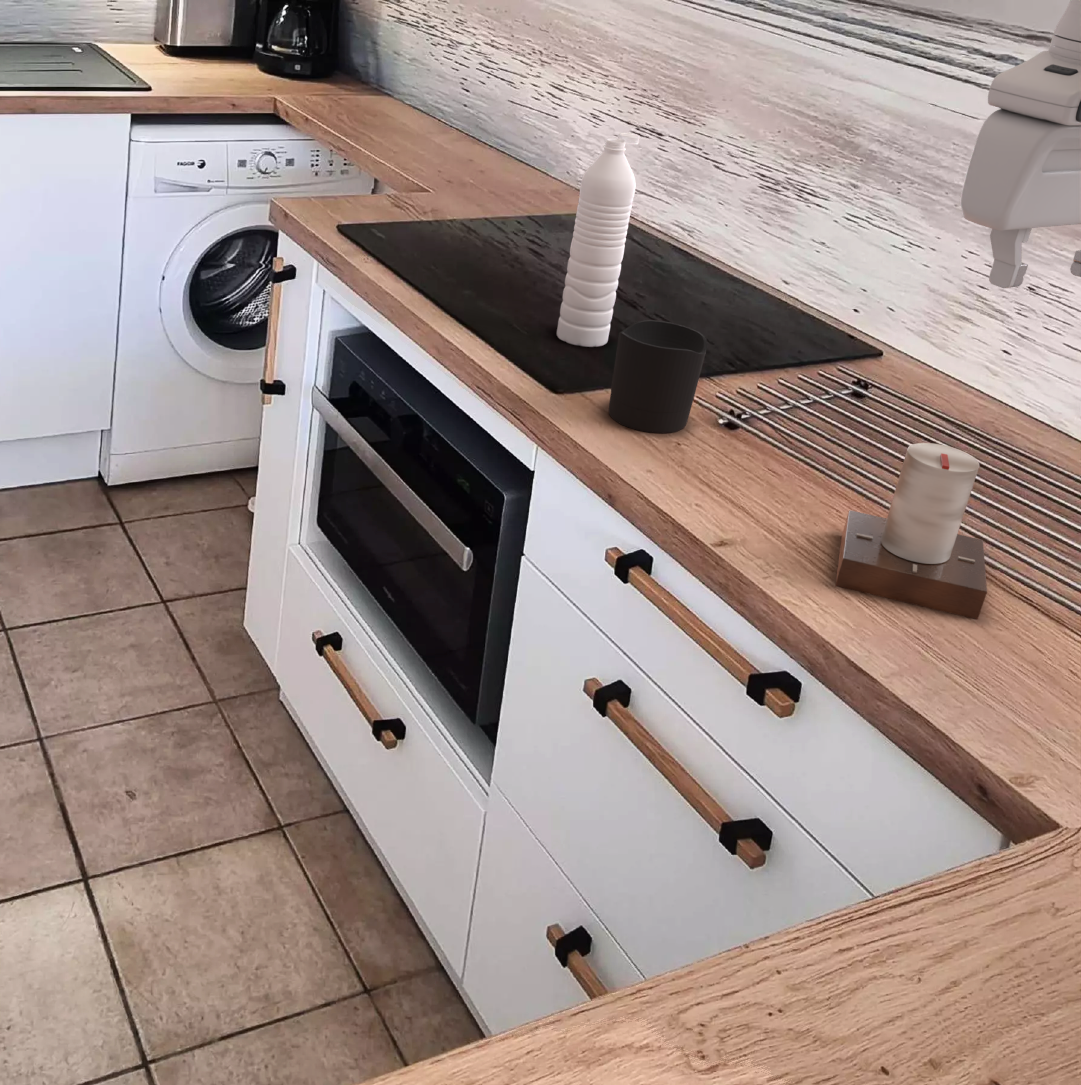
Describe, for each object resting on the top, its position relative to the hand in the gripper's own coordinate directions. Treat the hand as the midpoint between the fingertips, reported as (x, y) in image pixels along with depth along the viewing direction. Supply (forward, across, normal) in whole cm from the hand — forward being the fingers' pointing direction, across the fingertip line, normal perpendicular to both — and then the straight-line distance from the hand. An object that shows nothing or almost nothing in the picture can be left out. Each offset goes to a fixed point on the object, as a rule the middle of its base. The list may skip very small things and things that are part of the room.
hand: (1045, 281), depth 105 cm
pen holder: (+31, -8, -46) cm, 56 cm away
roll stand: (+31, -7, -9) cm, 33 cm away
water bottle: (+31, -19, -71) cm, 80 cm away
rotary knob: (+28, -7, -9) cm, 30 cm away
